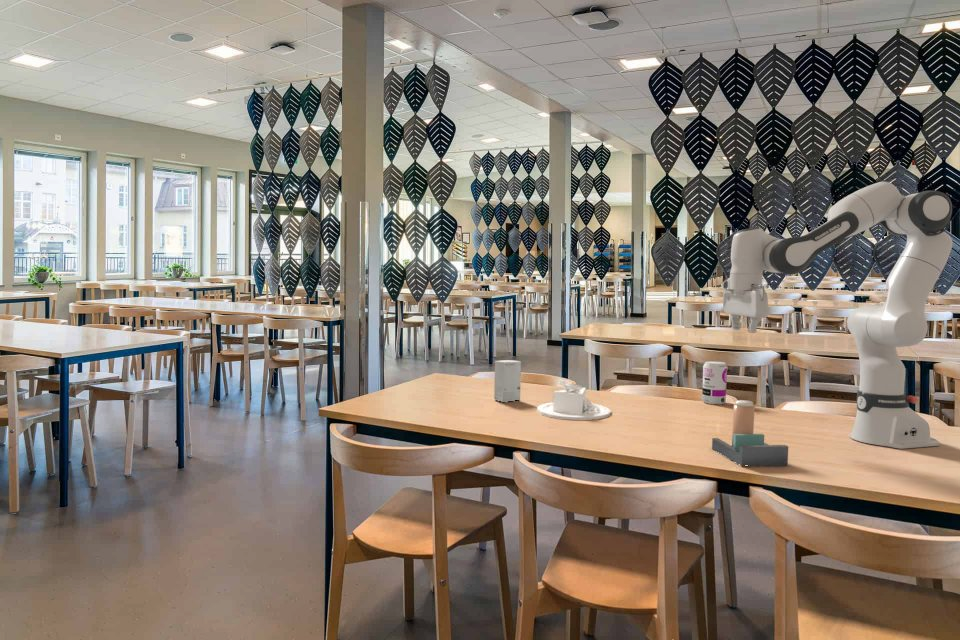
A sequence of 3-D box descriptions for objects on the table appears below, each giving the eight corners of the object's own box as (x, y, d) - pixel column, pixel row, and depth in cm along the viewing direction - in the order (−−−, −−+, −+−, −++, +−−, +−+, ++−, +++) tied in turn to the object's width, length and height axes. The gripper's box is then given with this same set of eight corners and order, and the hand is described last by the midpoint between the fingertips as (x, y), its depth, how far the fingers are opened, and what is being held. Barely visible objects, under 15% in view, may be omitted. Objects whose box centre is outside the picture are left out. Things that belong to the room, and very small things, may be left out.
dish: (590, 424, 208) (591, 389, 207) (523, 414, 222) (523, 381, 221) (622, 411, 228) (623, 379, 227) (558, 402, 242) (558, 372, 241)
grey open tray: (753, 448, 181) (754, 430, 181) (787, 466, 165) (788, 446, 164) (712, 448, 180) (712, 430, 179) (741, 466, 163) (742, 447, 163)
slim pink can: (746, 450, 178) (748, 399, 177) (756, 456, 173) (758, 403, 172) (728, 451, 178) (730, 399, 177) (737, 456, 173) (739, 403, 172)
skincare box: (503, 403, 238) (503, 362, 237) (493, 400, 243) (493, 360, 242) (521, 400, 243) (521, 360, 242) (511, 398, 248) (511, 358, 246)
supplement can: (727, 402, 244) (729, 362, 243) (722, 405, 238) (724, 364, 236) (705, 399, 249) (706, 360, 248) (699, 403, 242) (701, 362, 241)
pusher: (760, 455, 173) (761, 433, 173) (768, 459, 170) (769, 437, 169) (732, 455, 172) (733, 434, 172) (739, 459, 169) (740, 437, 168)
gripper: (775, 284, 182) (773, 334, 183) (739, 283, 202) (737, 328, 203) (753, 284, 181) (751, 334, 182) (719, 283, 201) (718, 328, 202)
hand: (743, 331), depth 193 cm, fingers open, 8 cm apart
